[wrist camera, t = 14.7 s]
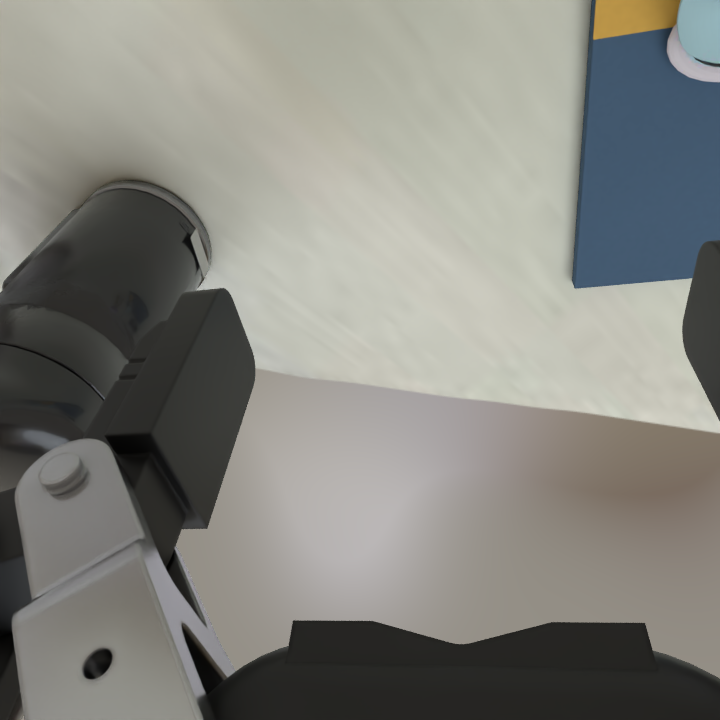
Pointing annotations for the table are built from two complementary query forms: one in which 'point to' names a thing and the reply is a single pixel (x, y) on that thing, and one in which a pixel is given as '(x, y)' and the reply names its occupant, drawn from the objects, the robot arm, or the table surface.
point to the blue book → (643, 152)
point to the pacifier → (696, 40)
